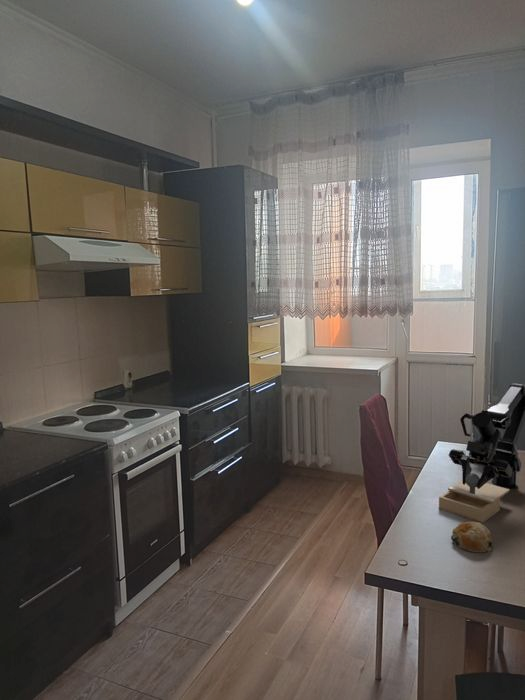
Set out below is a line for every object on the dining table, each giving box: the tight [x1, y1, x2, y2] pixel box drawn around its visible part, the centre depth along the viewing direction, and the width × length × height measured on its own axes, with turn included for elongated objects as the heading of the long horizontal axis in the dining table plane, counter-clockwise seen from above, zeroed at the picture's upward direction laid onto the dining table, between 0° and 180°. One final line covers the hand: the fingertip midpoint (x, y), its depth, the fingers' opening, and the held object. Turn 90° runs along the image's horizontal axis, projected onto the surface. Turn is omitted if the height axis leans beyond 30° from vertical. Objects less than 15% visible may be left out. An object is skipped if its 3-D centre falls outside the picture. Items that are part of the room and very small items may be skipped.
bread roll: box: [450, 521, 493, 554], centre depth 141 cm, size 10×10×8 cm
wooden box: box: [438, 490, 501, 524], centre depth 162 cm, size 12×14×4 cm
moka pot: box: [460, 412, 480, 457], centre depth 206 cm, size 10×15×20 cm, turn 78°
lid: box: [447, 472, 511, 503], centre depth 166 cm, size 13×14×7 cm
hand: (470, 486), depth 162 cm, fingers closed on lid, 4 cm apart
